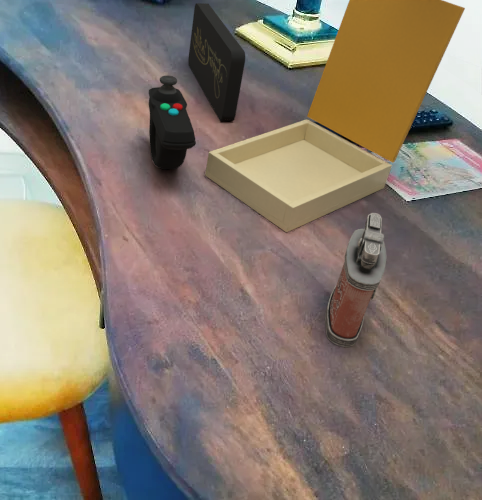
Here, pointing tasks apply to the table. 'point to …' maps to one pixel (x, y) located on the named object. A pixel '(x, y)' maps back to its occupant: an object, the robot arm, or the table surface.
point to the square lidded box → (296, 173)
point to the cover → (382, 69)
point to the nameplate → (216, 61)
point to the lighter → (356, 283)
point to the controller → (169, 125)
